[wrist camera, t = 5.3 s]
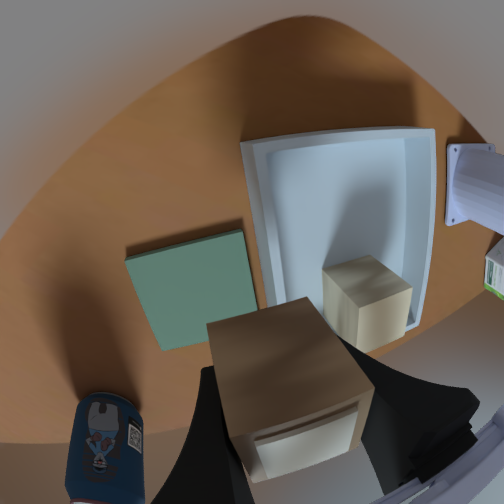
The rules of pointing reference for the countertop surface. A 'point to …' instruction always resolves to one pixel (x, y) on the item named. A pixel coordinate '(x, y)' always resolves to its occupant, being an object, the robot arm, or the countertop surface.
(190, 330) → the mat
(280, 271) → the bin
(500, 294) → the syrup box
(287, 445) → the brown wooden block
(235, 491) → the robot arm
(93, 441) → the soda can
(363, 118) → the countertop surface
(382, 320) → the birch block
